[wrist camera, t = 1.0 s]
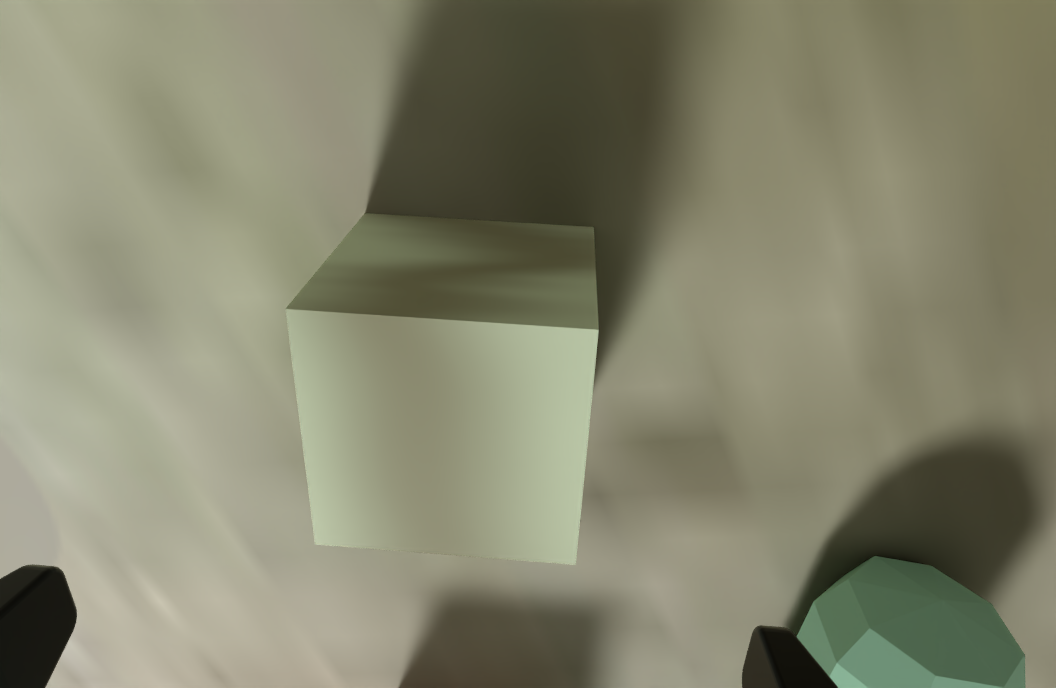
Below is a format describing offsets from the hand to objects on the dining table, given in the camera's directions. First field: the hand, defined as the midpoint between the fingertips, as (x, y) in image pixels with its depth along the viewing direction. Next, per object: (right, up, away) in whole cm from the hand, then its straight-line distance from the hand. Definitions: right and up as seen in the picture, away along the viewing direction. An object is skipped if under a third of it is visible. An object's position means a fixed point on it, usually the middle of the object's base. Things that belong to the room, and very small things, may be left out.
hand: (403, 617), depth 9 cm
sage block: (0, +4, +8) cm, 9 cm away
